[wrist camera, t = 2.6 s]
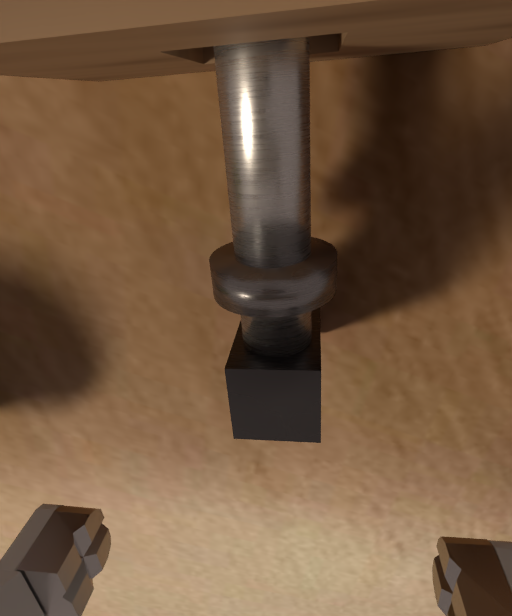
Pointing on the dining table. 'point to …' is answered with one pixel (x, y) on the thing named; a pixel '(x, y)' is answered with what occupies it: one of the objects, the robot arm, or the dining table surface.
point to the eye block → (226, 32)
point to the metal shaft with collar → (271, 242)
